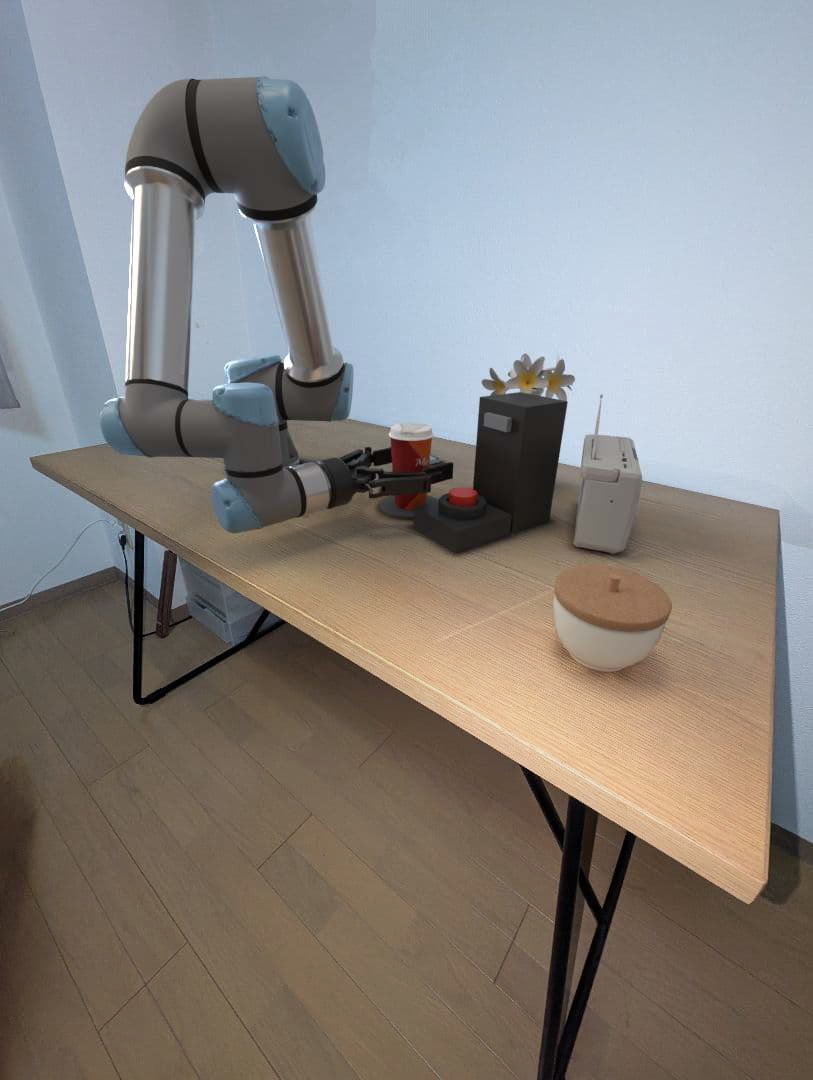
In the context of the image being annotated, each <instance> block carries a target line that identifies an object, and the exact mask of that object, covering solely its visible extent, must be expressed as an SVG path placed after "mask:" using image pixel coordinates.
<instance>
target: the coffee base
mask: <svg viewBox="0 0 813 1080" xmlns="http://www.w3.org/2000/svg"><path fill="white" fill-rule="evenodd" d="M511 517H512V515H511V514H509V513H507V512H504V511H502V510H500V509H498V508H496V507H494V506H491V505H489V504H487V502H486V500H485V498H484V497H482V496H479V495H477V504H476V505H472V506H457V505H452V504H450V503H449V492H448V493H444V494H442V495H441V496H440V497H439V498H438V501H436V502H432V503H428V504H424V505H420V506H416V507H414V519H413V528H414V529H415V530H417V531H419V532H421V533H422V534H423V535H425V536H426V537H428V538H430V539H431V540H433V541H435V542H436V543H438V544H439V545H441V546H442V547H445V548H446V549H448V550H449V551H451V552H453V553H454V554H459V553H463V552H465V551H467V550H471V549H474V548H477V547H480V546H483V545H486V544H489V543H493V542H495V541H499V540H501V539H504V538H507V537H510V535H511V533H510V525H511Z"/></svg>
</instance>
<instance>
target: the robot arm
mask: <svg viewBox="0 0 813 1080" xmlns="http://www.w3.org/2000/svg"><path fill="white" fill-rule="evenodd" d="M305 92H306V91H304V89H303V88H302V87H301V85H299V84H298V83H297V82H295V81H293V80H291V79H285V78H283V79H282V78H269V76H268V77H266V76H264V75H263V76H254V77H249V76H248V77H232V78H231V77H230V78H206V79H205V78H203V79H196V78H183V79H182V78H181V79H179V80H175V81H172V82H170V83H168V84H166V85H165V86H163V87H162V88H161V89H160V90H159V91H157V92H156V93H155V94H154V95H153V96H152V97H151V99H150V100H149V101H148V103H146V105H145V106H144V107H143V110H142V112H141V114H140V115H139V117H138V120H137V122H136V123H135V124H134V127H133V131H132V134H131V137H130V140H129V141H128V146H127V152H126V155H125V165H124V166H125V167H124V188H125V190H126V192H127V194H128V195H129V196H130V198H131V199H132V213H131V214H132V215H131V236H130V237H131V238H130V239H131V240H130V241H131V242H130V258H129V259H130V261H129V262H130V263H129V287H128V312H127V333H126V334H127V336H126V358H125V359H126V360H125V361H126V362H125V380H124V381H125V382H124V395H123V396H119V397H115V398H111V399H109V400H107V401H106V402H105V403H104V405H103V406H104V408H103V409H102V410H101V412H100V416H99V426H100V430H101V434H102V437H103V439H104V440H105V442H106V443H107V445H108V446H109V447H110V448H111V449H112V450H113V451H115V452H116V453H118V454H119V455H125V456H139V457H145V458H148V459H151V458H160V457H161V458H200V459H201V458H204V459H222V460H223V463H224V469H225V475H226V477H225V478H223V479H221V480H218V481H216V482H214V483H213V485H211V489H210V490H211V502H212V507H213V510H214V513H215V516H216V518H217V521H218V523H219V524H220V525H221V527H222V528H223V529H224V530H225V531H226V532H228V533H230V534H239V533H240V534H241V533H244V532H245V533H246V532H249V531H254V530H261V529H263V528H266V527H269V526H272V525H275V524H280V523H283V522H286V521H290V520H293V519H297V518H301V517H303V518H308V517H309V516H310V515H313V514H317V513H320V512H323V511H325V510H326V509H327V510H331V509H335V508H339V507H342V506H346V505H348V504H350V502H351V501H352V499H353V497H354V496H355V494H357V493H360V494H365V493H368V497H369V499H373V500H374V499H379V498H384V497H390V496H393V495H406V494H418V493H427V494H429V493H432V492H431V491H432V485H434V484H437V483H441V482H445V481H449V480H452V479H454V462H452V461H449V462H444V463H440V464H436V465H432V466H429V467H428V468H424V469H421V472H393V471H385V470H384V469H383V468H378V467H379V466H384V465H387V464H392V453H391V446H389V447H390V448H387V447H384V448H381V449H376V450H372V447H371V446H365V447H364V450H363V449H361V448H359V449H356V450H353V451H351V452H349V453H347V454H344V455H343V456H341V457H331V458H326V459H322V460H317V461H315V462H314V461H311V462H305V463H301V462H300V453H299V450H297V448H296V445H295V443H294V440H293V439H292V437H291V434H290V431H289V425H288V421H301V422H302V421H303V422H328V423H331V422H341V421H345V420H347V419H348V418H349V416H350V414H351V409H352V401H353V393H354V366H353V364H352V363H348V362H344V358H343V354H342V353H341V351H340V350H339V349H338V348H337V347H335V346H334V345H333V340H332V333H331V328H330V321H329V318H328V316H329V315H328V309H327V305H326V304H327V303H326V299H325V293H324V287H323V282H322V275H321V270H320V265H319V260H318V259H319V258H318V254H317V247H316V240H315V236H314V231H313V223H312V218H311V215H312V213H314V211H315V209H316V208H317V206H318V202H319V200H318V195H319V193H321V192H322V191H324V189H325V184H326V167H325V166H326V165H325V162H324V149H323V144H322V139H321V135H320V130H319V126H318V122H317V119H316V116H315V113H314V110H313V107H312V105H311V102H310V100H309V98H308V96H307V93H305ZM214 193H216V194H233V195H234V199H235V201H236V204H237V208H238V210H239V213H240V215H241V216H242V217H243V218H245V219H246V220H247V221H249V222H251V223H252V224H253V226H254V231H255V234H256V238H257V241H258V244H259V249H260V253H261V257H262V260H263V264H264V268H265V272H266V275H267V278H268V282H269V286H270V289H271V293H272V297H273V300H274V305H275V308H276V312H277V316H278V319H279V324H280V327H281V332H282V333H283V338H284V342H285V345H286V349H287V353H288V354H287V355H286V357H285V358H284V361H283V360H282V358H281V356H280V354H268V355H259V356H252V357H247V358H241V359H237V360H236V359H235V360H232V361H231V360H230V361H229V362H227V363H226V364H225V366H224V368H223V375H224V383H222V384H218V385H217V386H215V387H214V388H213V390H212V399H209V398H208V399H206V398H205V399H203V398H202V399H193V398H192V399H191V398H189V383H190V382H189V379H190V361H191V360H190V356H191V339H192V338H191V337H192V336H191V335H192V315H193V313H192V312H193V294H194V292H193V291H194V274H195V273H194V272H195V253H196V252H195V251H196V250H195V249H196V230H197V229H196V228H197V227H196V226H197V220H198V221H199V219H201V218H202V217H203V215H204V214H205V207H206V198H207V197H208V196H209V195H210V194H214ZM282 361H283V362H282ZM300 463H301V464H300ZM372 466H373V467H374V468H371V467H372ZM376 467H377V468H376ZM377 477H378V478H377Z"/></svg>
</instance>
